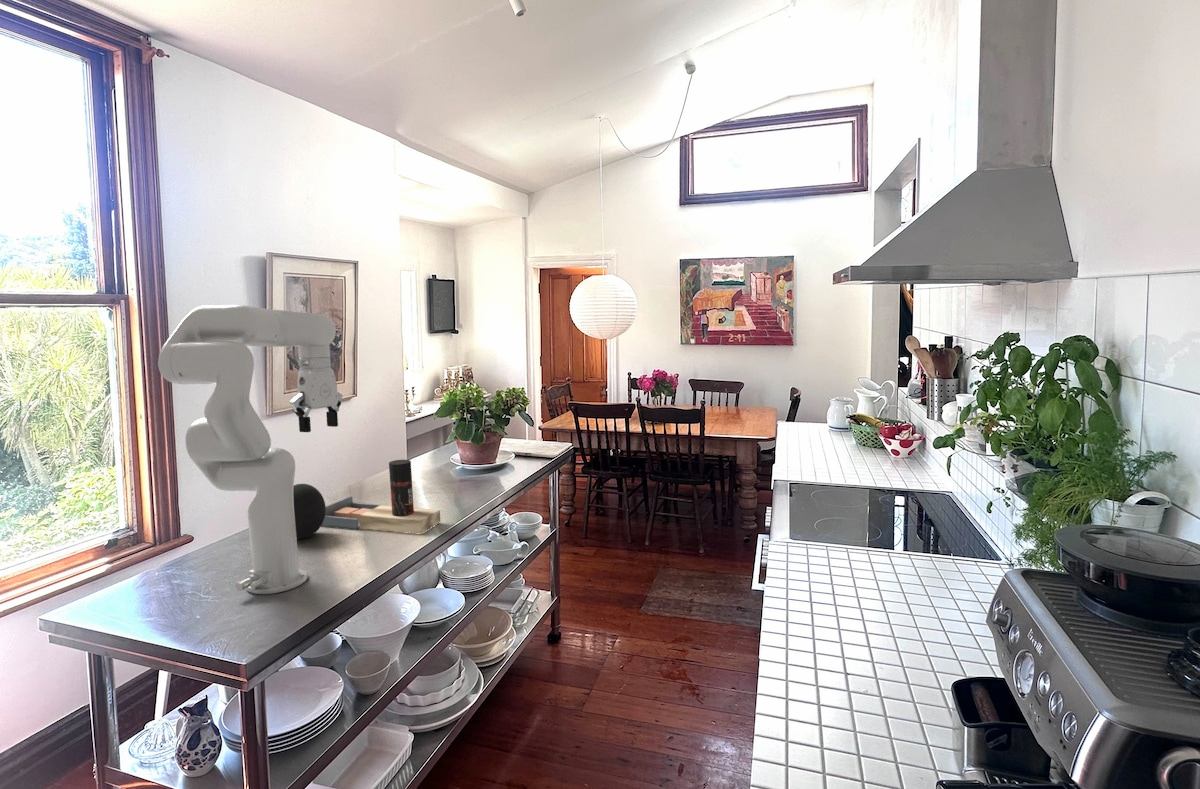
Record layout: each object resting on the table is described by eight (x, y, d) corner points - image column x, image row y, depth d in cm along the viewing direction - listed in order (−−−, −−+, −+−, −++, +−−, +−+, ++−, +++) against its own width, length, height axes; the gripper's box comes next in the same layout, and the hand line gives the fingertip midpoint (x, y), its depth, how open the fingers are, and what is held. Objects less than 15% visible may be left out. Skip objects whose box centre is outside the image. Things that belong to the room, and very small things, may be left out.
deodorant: (410, 516, 185) (407, 464, 183) (389, 516, 186) (385, 464, 184) (416, 509, 191) (413, 459, 189) (396, 510, 191) (392, 459, 189)
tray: (356, 529, 187) (355, 512, 186) (319, 526, 191) (317, 509, 190) (386, 514, 200) (385, 498, 200) (351, 511, 204) (350, 495, 204)
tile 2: (365, 523, 191) (364, 514, 191) (351, 521, 193) (350, 513, 192) (376, 517, 196) (376, 509, 195) (363, 516, 197) (362, 508, 197)
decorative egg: (277, 534, 184) (273, 482, 182) (325, 527, 190) (321, 476, 188) (279, 548, 174) (274, 493, 172) (330, 539, 179) (325, 486, 177)
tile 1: (333, 512, 194) (334, 520, 194) (347, 513, 192) (347, 521, 192) (345, 507, 199) (346, 515, 199) (359, 508, 197) (359, 516, 197)
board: (421, 534, 182) (420, 520, 181) (360, 528, 188) (359, 515, 187) (440, 523, 191) (439, 510, 191) (382, 517, 197) (381, 505, 197)
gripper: (300, 366, 163) (305, 434, 165) (349, 362, 179) (353, 424, 181) (277, 366, 166) (282, 433, 167) (327, 362, 182) (331, 423, 184)
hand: (319, 429), depth 174 cm, fingers open, 9 cm apart
